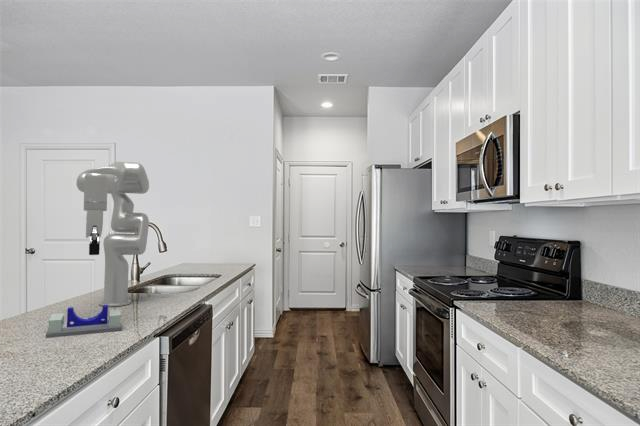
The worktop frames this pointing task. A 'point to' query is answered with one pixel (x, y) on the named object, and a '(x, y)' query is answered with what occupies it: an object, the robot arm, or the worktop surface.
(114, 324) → the board
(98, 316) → the cable clip
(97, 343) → the worktop surface
